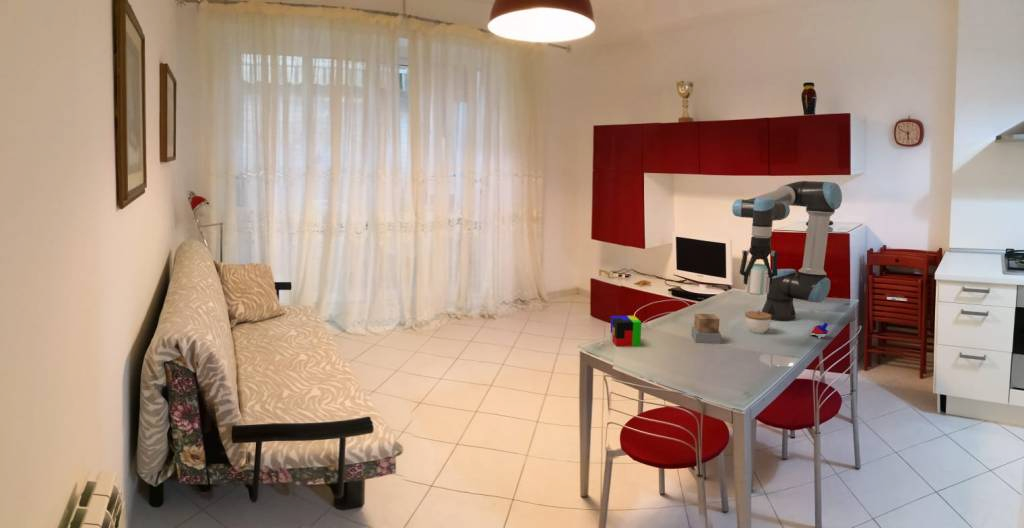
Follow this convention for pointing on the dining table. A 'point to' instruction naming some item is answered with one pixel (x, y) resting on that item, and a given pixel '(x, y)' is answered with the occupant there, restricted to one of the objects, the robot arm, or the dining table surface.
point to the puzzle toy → (625, 331)
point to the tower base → (705, 337)
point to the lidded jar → (757, 321)
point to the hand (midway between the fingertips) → (756, 292)
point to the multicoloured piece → (820, 329)
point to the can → (758, 279)
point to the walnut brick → (706, 323)
